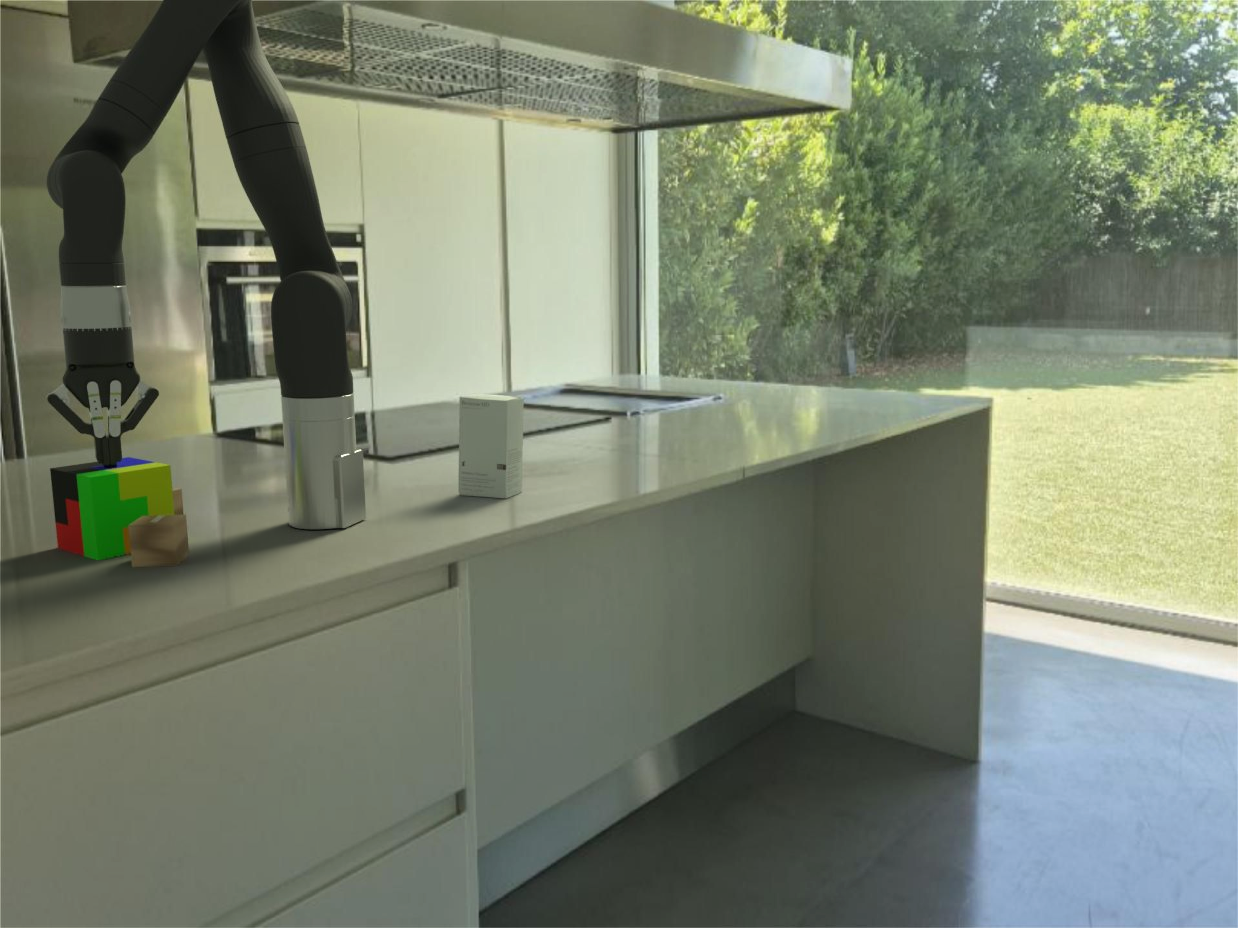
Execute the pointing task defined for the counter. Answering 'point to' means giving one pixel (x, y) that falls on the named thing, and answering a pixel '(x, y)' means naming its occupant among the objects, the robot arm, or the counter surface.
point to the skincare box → (490, 445)
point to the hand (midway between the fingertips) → (109, 466)
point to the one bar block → (158, 540)
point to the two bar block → (177, 501)
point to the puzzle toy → (107, 503)
